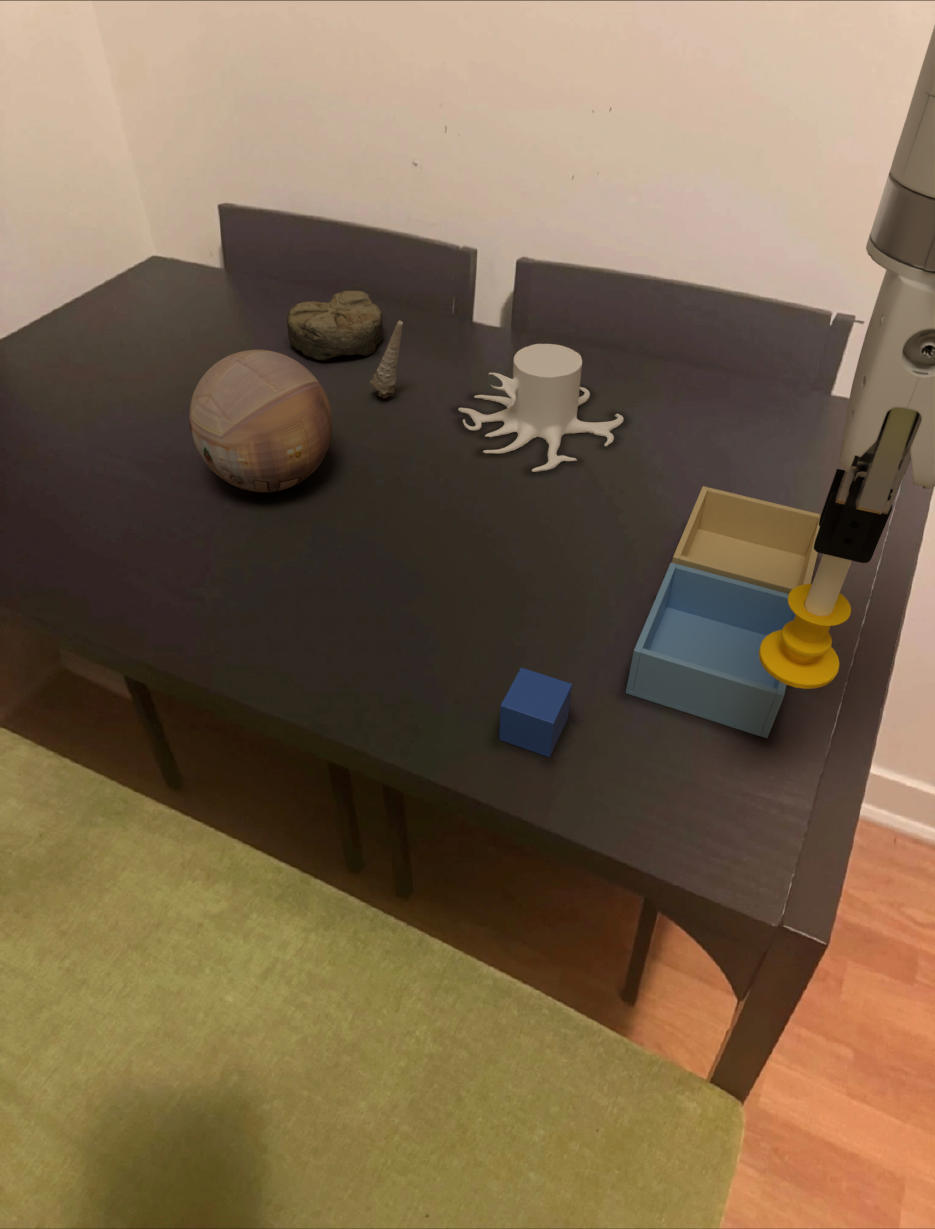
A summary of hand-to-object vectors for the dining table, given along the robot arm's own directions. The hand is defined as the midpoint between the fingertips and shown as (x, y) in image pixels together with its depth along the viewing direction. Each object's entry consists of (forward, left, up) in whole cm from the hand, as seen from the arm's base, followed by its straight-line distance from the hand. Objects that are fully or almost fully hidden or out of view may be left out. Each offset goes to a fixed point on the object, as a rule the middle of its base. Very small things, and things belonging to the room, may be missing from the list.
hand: (843, 541), depth 51 cm
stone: (+68, -51, -25) cm, 88 cm away
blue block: (+18, +2, -24) cm, 30 cm away
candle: (0, 0, -11) cm, 11 cm away
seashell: (+54, -40, -25) cm, 71 cm away
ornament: (+58, -19, -25) cm, 65 cm away
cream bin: (+6, -24, -24) cm, 34 cm away
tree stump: (+34, -43, -25) cm, 60 cm away
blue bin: (+6, -11, -24) cm, 27 cm away
